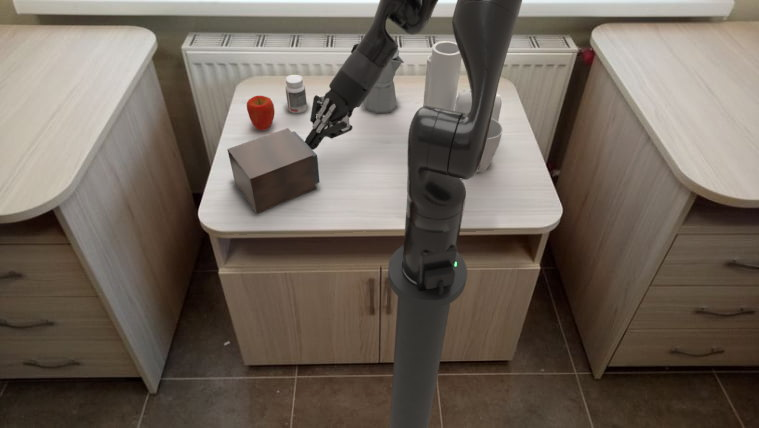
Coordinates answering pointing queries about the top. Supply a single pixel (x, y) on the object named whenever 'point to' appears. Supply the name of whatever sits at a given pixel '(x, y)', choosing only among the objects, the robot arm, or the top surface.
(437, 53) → the vase
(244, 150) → the cabinet
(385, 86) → the coffee maker
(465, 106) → the photo printer
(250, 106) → the apple
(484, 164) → the cup
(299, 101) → the pill bottle
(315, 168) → the drawer
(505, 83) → the top surface
